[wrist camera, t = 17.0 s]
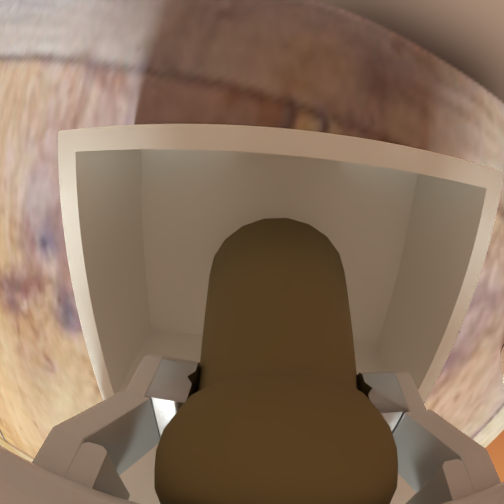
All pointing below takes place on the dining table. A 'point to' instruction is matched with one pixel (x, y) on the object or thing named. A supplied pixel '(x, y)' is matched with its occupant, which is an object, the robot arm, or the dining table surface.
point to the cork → (277, 384)
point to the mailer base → (262, 207)
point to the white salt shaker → (502, 364)
